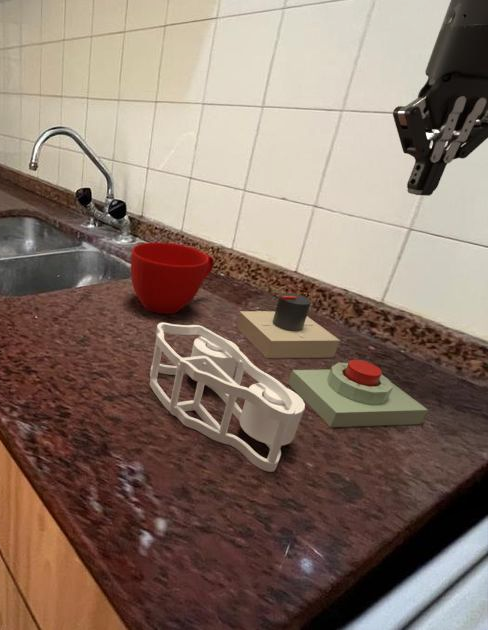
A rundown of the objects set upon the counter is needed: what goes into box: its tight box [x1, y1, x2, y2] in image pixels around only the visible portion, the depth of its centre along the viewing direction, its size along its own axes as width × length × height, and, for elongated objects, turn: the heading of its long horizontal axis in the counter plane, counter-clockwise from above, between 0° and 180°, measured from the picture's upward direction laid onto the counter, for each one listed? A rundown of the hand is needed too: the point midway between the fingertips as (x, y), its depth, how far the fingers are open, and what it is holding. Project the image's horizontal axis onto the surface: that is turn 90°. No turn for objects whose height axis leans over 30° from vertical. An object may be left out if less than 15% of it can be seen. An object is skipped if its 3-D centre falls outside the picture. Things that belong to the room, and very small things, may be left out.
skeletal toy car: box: [149, 321, 306, 473], centre depth 52 cm, size 20×11×7 cm, turn 17°
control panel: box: [235, 310, 341, 359], centre depth 71 cm, size 11×10×3 cm
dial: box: [273, 292, 312, 331], centre depth 69 cm, size 4×4×5 cm
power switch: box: [287, 362, 428, 428], centre depth 57 cm, size 12×9×4 cm
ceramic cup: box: [130, 242, 215, 315], centre depth 80 cm, size 13×17×10 cm
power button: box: [344, 359, 383, 387], centre depth 56 cm, size 4×4×2 cm
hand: (418, 194), depth 55 cm, fingers closed
